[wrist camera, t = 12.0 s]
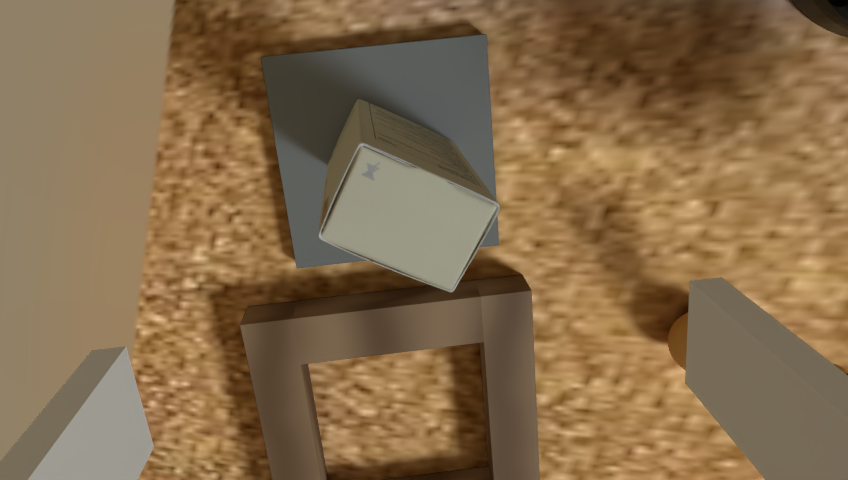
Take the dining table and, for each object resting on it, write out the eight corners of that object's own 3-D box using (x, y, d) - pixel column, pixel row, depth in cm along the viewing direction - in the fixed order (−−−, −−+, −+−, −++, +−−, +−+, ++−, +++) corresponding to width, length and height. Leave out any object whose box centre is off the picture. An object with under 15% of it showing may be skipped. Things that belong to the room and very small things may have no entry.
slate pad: (483, 34, 36) (486, 34, 35) (496, 239, 40) (499, 245, 39) (263, 56, 36) (260, 57, 35) (298, 262, 40) (296, 268, 39)
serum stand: (522, 274, 41) (531, 290, 39) (532, 495, 47) (541, 521, 45) (247, 306, 41) (239, 325, 38) (292, 527, 46) (288, 555, 44)
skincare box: (326, 166, 37) (305, 237, 26) (357, 94, 36) (351, 135, 24) (429, 212, 38) (454, 299, 27) (463, 144, 37) (504, 205, 26)
